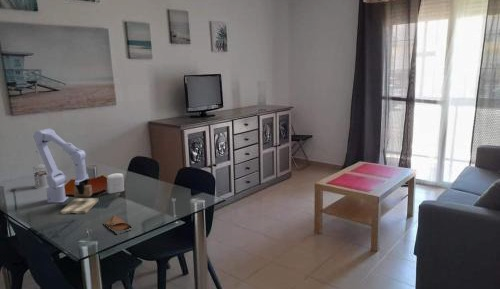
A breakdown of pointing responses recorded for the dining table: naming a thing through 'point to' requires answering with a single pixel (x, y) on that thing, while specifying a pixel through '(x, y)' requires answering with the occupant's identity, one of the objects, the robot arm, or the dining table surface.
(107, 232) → the dining table surface
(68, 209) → the board
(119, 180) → the photo printer
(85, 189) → the block
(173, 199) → the dining table surface
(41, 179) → the french press
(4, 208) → the dining table surface
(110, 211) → the dining table surface
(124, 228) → the sunglasses case
